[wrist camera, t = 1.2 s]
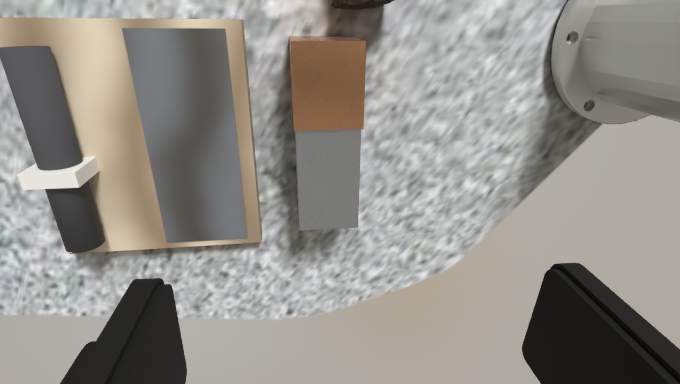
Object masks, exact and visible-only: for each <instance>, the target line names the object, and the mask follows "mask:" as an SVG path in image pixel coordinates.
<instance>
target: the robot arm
mask: <svg viewBox="0 0 680 384" xmlns="http://www.w3.org/2000/svg"><path fill="white" fill-rule="evenodd" d="M551 65H552V76H553V79H554V83H555V86H556V89H557V91H558V93H559V95H560V97H561V98H562V100H563V102H564V103H565V104H566V105H567V106H568V107H569V108H570V109H571V110H572V111H573V112H575V113H577V114H578V115H580V116H581V117H584V118H587V119H589V120H592V121H595V122H599V123H605V124H623V123H627V122H632V121H637V120H639V119H641V118H644V117H646V116H649V115H655V116H659V117H663V118H667V119H670V120H674V121H678V122H680V0H568V2H567V4H566V5H565V7H564V10H563V12H562V14H561V17H560V19H559V21H558V24H557V28H556V31H555V35H554V39H553V45H552V55H551ZM522 352H523V356H524V359H525V360H526V362H527V364H528V365H529V367H530V368H531V370H532V371H533V373H534V374H535V376H536V377H537V379H538V380H539V381H540V383H541V384H680V349H679V348H677V347H676V346H675V345H674V344H673V343H671V342H670V341H669V340H668V339H667V338H666V337H665V336H663V335H662V334H661V333H660V332H659V331H658V330H657V329H656V328H654V327H653V326H652V325H651V324H650V323H648V322H647V321H646V320H645V319H644V318H643V317H642V316H640V315H639V314H638V313H637V312H636V311H635V310H633V309H632V308H631V307H630V306H629V305H628V304H627V303H625V302H624V301H623V300H622V299H621V298H620V297H619V296H617V295H616V294H615V293H614V292H613V291H611V290H610V289H609V288H608V287H607V286H606V285H605V284H603V283H602V282H601V281H600V280H599V279H597V277H595V276H594V275H593V274H592V273H591V272H590V271H588V270H587V269H586V268H585V267H584V266H582V265H581V264H579V263H561V264H554V265H553V266H552V267H551V269H550V270H548V271H547V272H546V273H545V276H544V279H543V282H542V285H541V288H540V291H539V295H538V298H537V301H536V304H535V307H534V310H533V313H532V317H531V320H530V323H529V326H528V329H527V332H526V336H525V339H524V342H523V346H522ZM186 375H187V369H186V361H185V356H184V350H183V345H182V339H181V333H180V328H179V323H178V317H177V311H176V306H175V300H174V294H173V289H172V286H171V285H170V284H166V285H164V281H163V280H162V279H161V278H156V279H135V280H133V281H132V283H131V284H130V286H129V288H128V289H127V291H126V292H125V294H124V296H123V297H122V299H121V301H120V302H119V304H118V306H117V307H116V309H115V311H114V312H113V314H112V316H111V317H110V319H109V321H108V322H107V324H106V326H105V327H104V329H103V331H102V333H101V334H100V336H99V337H98V339H97V341H94V342H89V343H88V344H86V345H85V347H84V348H83V349H82V350H81V352H80V353H79V355H78V356H77V358H76V359H75V361H74V363H73V364H72V366H71V367H70V369H69V371H68V372H67V374H66V375H65V377H64V379H63V380H62V382H61V383H60V384H185V382H186Z"/></svg>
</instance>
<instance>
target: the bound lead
mask: <svg viewBox="0 0 680 384" xmlns="http://www.w3.org/2000/svg"><path fill="white" fill-rule="evenodd" d="M0 58H1V61H2V64H3V67H4V70H5V73H6V76H7V79H8V82H9V85H10V88H11V91H12V93H13V96H14V99H15V102H16V105H17V108H18V111H19V114H20V117H21V120H22V123H23V126H24V129H25V132H26V134H27V137H28V140H29V143H30V146H31V149H32V152H33V155H34V158H35V161H36V164H34V165H33V166H31V167H29V168H27V169H26V170H24V171H22V172H21V173H19V174H17V176H18V179H19V182H20V184H21V187H22V190H35V189H45V190H46V193H47V196H48V199H49V202H50V205H51V208H52V211H53V214H54V216H55V219H56V222H57V225H58V228H59V231H60V234H61V237H62V240H63V243H64V246H65V249H66V251H67V252H70V253H83V252H87V251H91V250H93V249H96V248H98V247H99V246H101V245H102V244H103V243H104V242H105V236H104V232H103V229H102V225H101V222H100V218H99V215H98V211H97V208H96V204H95V201H94V197H93V194H92V190H91V187H90V183H89V179H90V178H91V177H93V176H94V175H95V174H96V173H97V172H99V171H100V170H99V166H98V163H97V159H96V157H82V156H81V152H80V149H79V145H78V142H77V138H76V135H75V131H74V128H73V124H72V121H71V117H70V114H69V110H68V107H67V103H66V100H65V96H64V93H63V89H62V86H61V82H60V79H59V75H58V72H57V68H56V65H55V61H54V58H53V54H52V51H51V48H50V46H14V47H0Z"/></svg>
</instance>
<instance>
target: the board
mask: <svg viewBox="0 0 680 384" xmlns="http://www.w3.org/2000/svg"><path fill="white" fill-rule="evenodd" d="M14 46H50V48H51V51H52V54H53V58H54V61H55V65H56V68H57V72H58V75H59V79H60V82H61V86H62V89H63V93H64V96H65V100H66V103H67V107H68V110H69V114H70V117H71V121H72V124H73V128H74V131H75V135H76V138H77V142H78V145H79V149H80V152H81V156H82V157H96V159H97V163H98V166H99V170H100V171H99V172H97V173H96V174H95V175H94V176H93V177H91V178H90V179H89V183H90V187H91V190H92V194H93V197H94V201H95V204H96V208H97V211H98V215H99V218H100V222H101V225H102V229H103V232H104V236H105V242H104V243H103V244H102V245H101V246H99V247H98V248H96V249H93V250H91V251H87V252H83V253H95V252H111V251H127V250H143V249H159V248H175V247H191V246H208V245H224V244H240V243H256V242H261V240H262V228H261V216H260V205H259V194H258V182H257V171H256V160H255V149H254V137H253V126H252V115H251V103H250V92H249V81H248V70H247V58H246V47H245V36H244V25H243V20H225V19H94V18H0V47H14ZM70 254H78V253H70Z"/></svg>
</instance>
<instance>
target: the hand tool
mask: <svg viewBox="0 0 680 384" xmlns="http://www.w3.org/2000/svg"><path fill="white" fill-rule="evenodd" d="M392 1H394V0H334V1H333V3H332V5H331V6H333V7H334V8H341V9H353V10H355V9H366V8H375V7H378V6H383V5H384V4H387V3H390V2H392Z"/></svg>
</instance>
